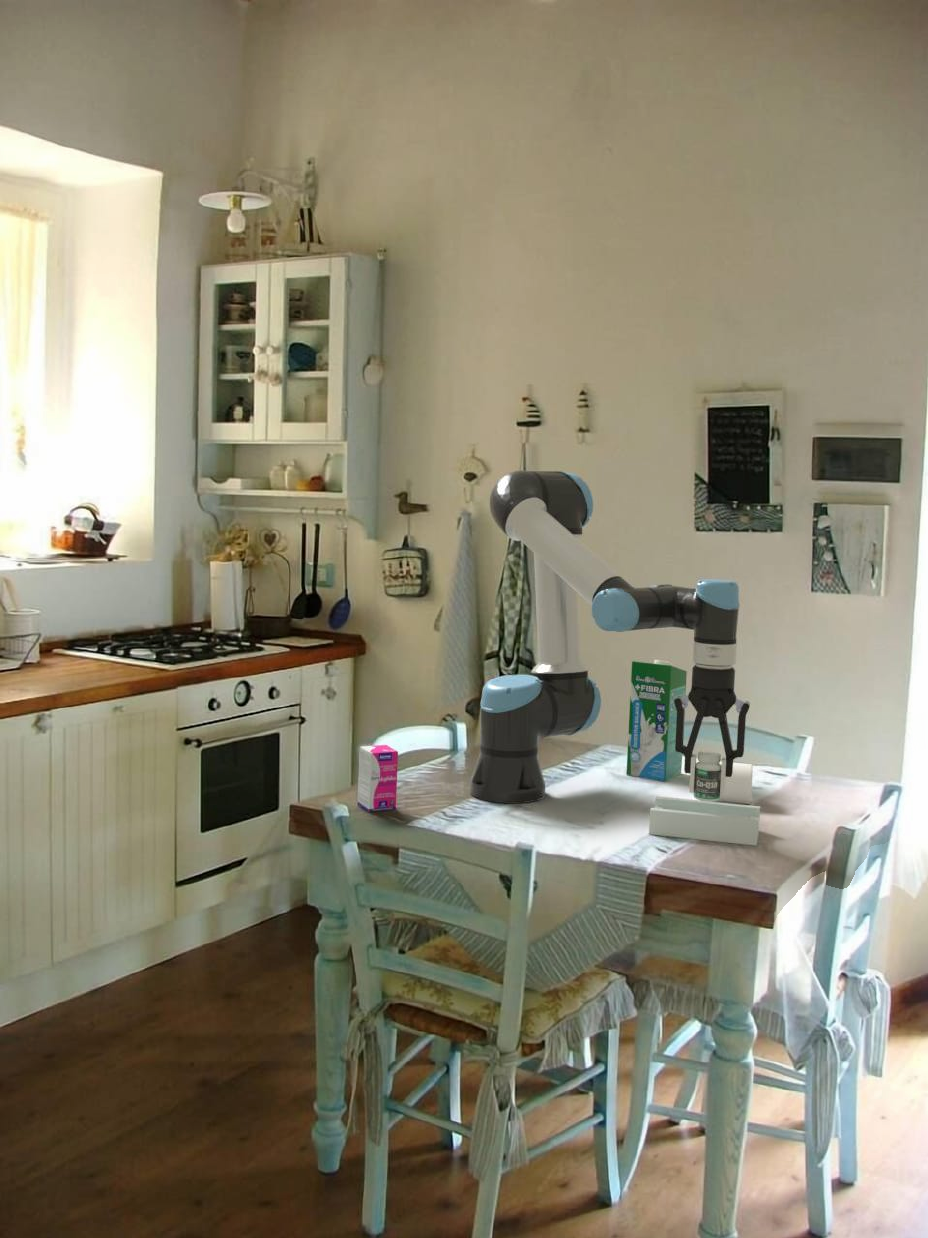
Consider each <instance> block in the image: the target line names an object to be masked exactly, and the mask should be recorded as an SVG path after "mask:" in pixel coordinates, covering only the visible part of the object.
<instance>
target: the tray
mask: <svg viewBox="0 0 928 1238" xmlns="http://www.w3.org/2000/svg"><path fill="white" fill-rule="evenodd" d="M760 815H761V805H760V806H759V805H751V804H737V803H725V802H707V801H701V800H697V799H689V798H688V799H687V798H678V797H668V796H659V795H658V796H657V795H656V797H655V804H654V807H650V810H649V826H648V835H655V836H663V837H673V838H681V839H682V838H683V839H691V840H702V841H711V842H719V843H720V842H721V843H730V844H737V845H748V846H755V847H756V846H758V845H757V844H758V838H759V832H760V818H761V817H760Z"/></svg>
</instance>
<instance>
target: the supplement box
mask: <svg viewBox="0 0 928 1238" xmlns="http://www.w3.org/2000/svg"><path fill="white" fill-rule="evenodd" d="M358 756H359V758H358V781H357V782H358V783H357V805H358V806H359V807H361V808H362V809H363V810H364V811H367V812H368V813H369V812H370V813H371V812H375V811H376V812H377V811H389V810H396V808H397V791H398V789H397V786H398V767H399V766H398V763H399V762H398V761H399V751H398V750H397V749H394V748H393V747H390V746H389V745H388V744H380V745H379V744H378V745H362V746H359V755H358Z"/></svg>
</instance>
